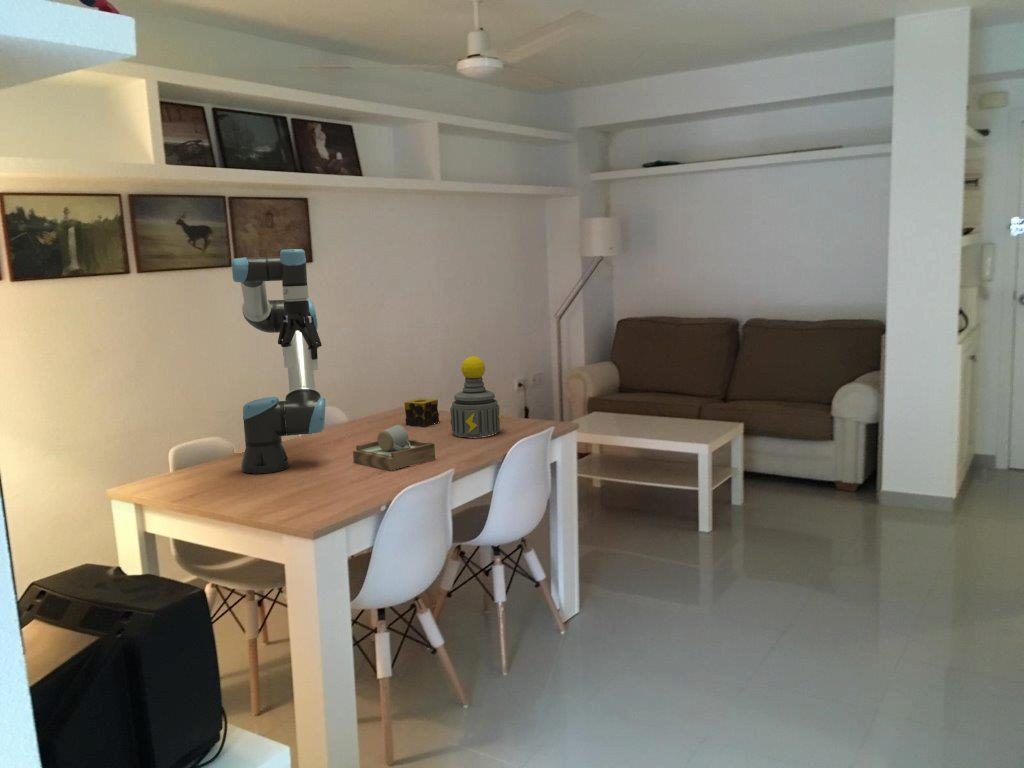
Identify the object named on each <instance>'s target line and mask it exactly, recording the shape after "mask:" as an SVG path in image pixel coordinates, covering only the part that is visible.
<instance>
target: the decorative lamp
mask: <svg viewBox="0 0 1024 768" xmlns="http://www.w3.org/2000/svg"><path fill="white" fill-rule="evenodd" d="M485 372H486V365H485V362H484V361H483V359H481V358H480V357H478V356H473V355H472V356H469V357H467V358H465V359H464V360H463V361H462V363H461V373H462V375H463V376H464V377H465V379H464V383H463V388H462V391H459V392H456V393H455V394H454V395H453V399H454V401H452V402H451V407H450V409H449V410H450V411H449V412H450V421H449V422H450V425H451V432H452V433H453V435H454V436H455V437H456V436H458V437H457V438H460V437H482V436H488V435H492V434H495V433H497V432H498V433H499V431H500V429H501V412H500V411H501V407H500V405H499V404H498V400H497V399H495V397H496V395H495V393H494V392H493V391H491V390H487V389H486V387H485V383H484V381H483V380H484V378H483V376H484V375H485ZM498 433H497V434H498Z"/></svg>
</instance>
